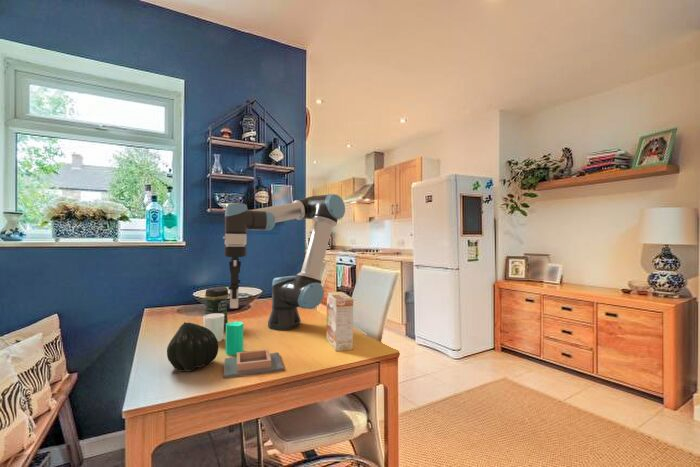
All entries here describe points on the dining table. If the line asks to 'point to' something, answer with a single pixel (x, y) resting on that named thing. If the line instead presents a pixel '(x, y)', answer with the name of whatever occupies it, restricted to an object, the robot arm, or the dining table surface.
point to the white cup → (215, 324)
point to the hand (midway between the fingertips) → (234, 304)
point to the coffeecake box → (340, 321)
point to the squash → (192, 347)
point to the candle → (234, 338)
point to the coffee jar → (217, 301)
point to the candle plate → (252, 363)
